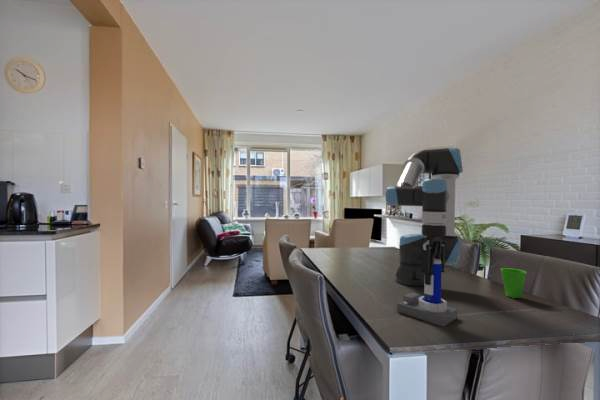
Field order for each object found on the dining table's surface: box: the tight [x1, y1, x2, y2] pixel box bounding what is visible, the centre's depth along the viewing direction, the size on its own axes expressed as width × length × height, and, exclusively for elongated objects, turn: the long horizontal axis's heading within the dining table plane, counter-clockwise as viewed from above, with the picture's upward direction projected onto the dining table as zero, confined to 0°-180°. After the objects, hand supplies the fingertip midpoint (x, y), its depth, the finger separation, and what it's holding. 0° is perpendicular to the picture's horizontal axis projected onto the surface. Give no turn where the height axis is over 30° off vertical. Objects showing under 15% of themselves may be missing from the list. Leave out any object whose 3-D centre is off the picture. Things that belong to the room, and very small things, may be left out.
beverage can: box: [423, 258, 443, 304], centre depth 99 cm, size 5×5×15 cm
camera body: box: [396, 291, 458, 327], centre depth 101 cm, size 16×11×6 cm
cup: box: [499, 267, 528, 299], centre depth 122 cm, size 9×9×11 cm
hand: (432, 292), depth 99 cm, fingers closed on beverage can, 5 cm apart
